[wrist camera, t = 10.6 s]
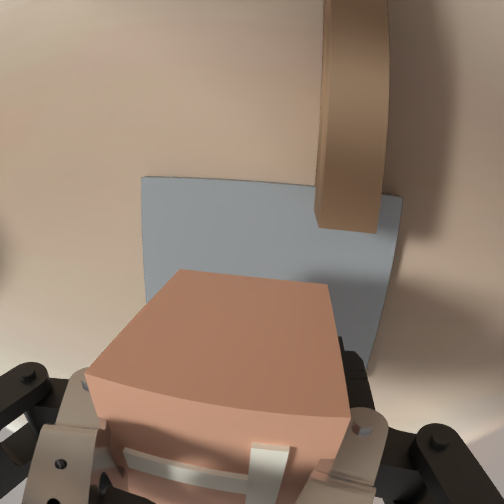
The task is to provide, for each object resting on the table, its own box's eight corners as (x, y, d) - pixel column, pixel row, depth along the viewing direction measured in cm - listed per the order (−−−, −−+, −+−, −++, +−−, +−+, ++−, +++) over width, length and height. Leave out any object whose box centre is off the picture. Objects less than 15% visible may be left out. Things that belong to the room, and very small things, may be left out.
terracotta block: (180, 268, 11) (80, 377, 5) (327, 284, 10) (352, 423, 5) (185, 380, 13) (128, 498, 7) (306, 396, 12) (302, 530, 6)
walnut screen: (321, -76, 10) (324, -120, 6) (358, -71, 9) (369, -113, 6) (312, 207, 14) (318, 227, 11) (355, 212, 14) (376, 234, 10)
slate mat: (146, 176, 15) (141, 177, 14) (398, 196, 14) (403, 198, 13) (155, 350, 18) (151, 355, 17) (360, 374, 17) (362, 380, 16)
